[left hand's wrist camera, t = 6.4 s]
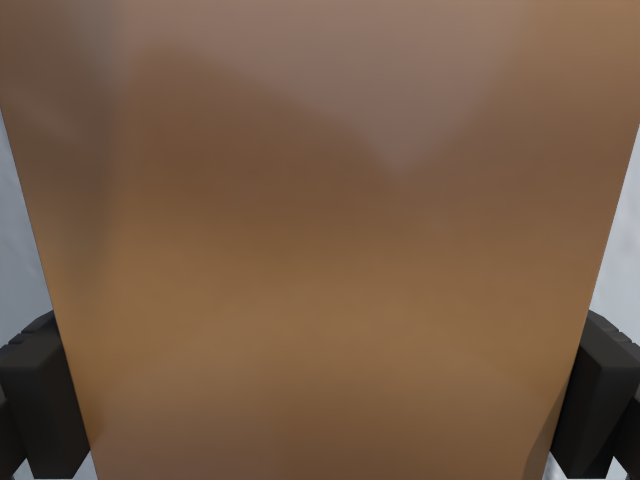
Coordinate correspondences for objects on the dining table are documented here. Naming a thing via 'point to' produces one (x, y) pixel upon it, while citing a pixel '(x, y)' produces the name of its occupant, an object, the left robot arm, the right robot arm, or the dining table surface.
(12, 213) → the dining table surface
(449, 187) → the wooden beam
